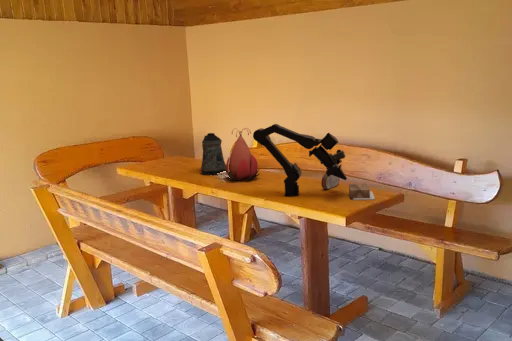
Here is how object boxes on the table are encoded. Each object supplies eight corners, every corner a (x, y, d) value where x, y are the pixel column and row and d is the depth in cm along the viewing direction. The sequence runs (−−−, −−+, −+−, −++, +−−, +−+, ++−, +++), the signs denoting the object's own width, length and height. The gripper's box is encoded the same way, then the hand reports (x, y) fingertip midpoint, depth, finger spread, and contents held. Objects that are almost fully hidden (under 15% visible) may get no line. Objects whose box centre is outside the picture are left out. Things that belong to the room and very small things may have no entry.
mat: (353, 200, 228) (353, 198, 228) (351, 192, 241) (351, 191, 241) (374, 199, 226) (374, 198, 226) (371, 192, 240) (371, 191, 240)
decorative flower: (266, 176, 288) (264, 126, 282) (248, 185, 268) (245, 131, 262) (234, 174, 298) (231, 126, 292) (214, 182, 278) (211, 131, 272)
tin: (335, 184, 260) (335, 169, 258) (340, 185, 258) (340, 169, 256) (320, 190, 249) (320, 174, 247) (326, 191, 247) (325, 175, 245)
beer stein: (216, 176, 293) (214, 135, 288) (191, 174, 304) (189, 135, 299) (232, 171, 307) (229, 132, 302) (207, 169, 317) (205, 131, 312)
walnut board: (350, 190, 228) (369, 190, 227) (349, 184, 240) (367, 184, 238) (350, 198, 229) (369, 198, 227) (349, 192, 240) (367, 191, 239)
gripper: (333, 148, 223) (357, 172, 222) (337, 142, 240) (359, 164, 239) (316, 164, 226) (339, 188, 226) (321, 157, 244) (343, 179, 243)
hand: (346, 179), depth 233 cm, fingers closed
